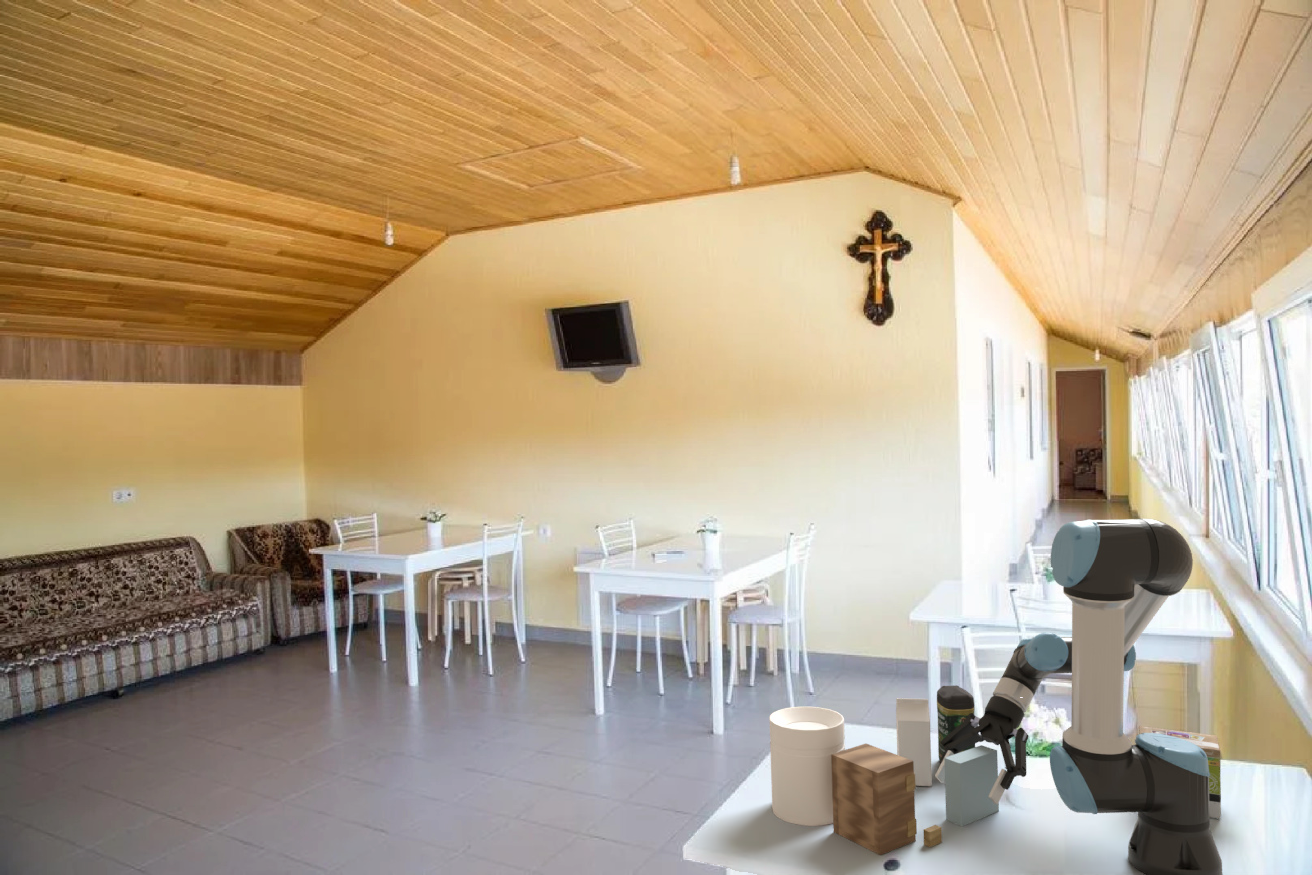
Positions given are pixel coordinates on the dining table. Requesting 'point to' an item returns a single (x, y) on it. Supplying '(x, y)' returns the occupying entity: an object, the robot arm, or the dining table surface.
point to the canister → (804, 763)
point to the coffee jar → (952, 711)
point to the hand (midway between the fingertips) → (965, 789)
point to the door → (970, 784)
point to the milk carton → (915, 737)
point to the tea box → (1213, 755)
